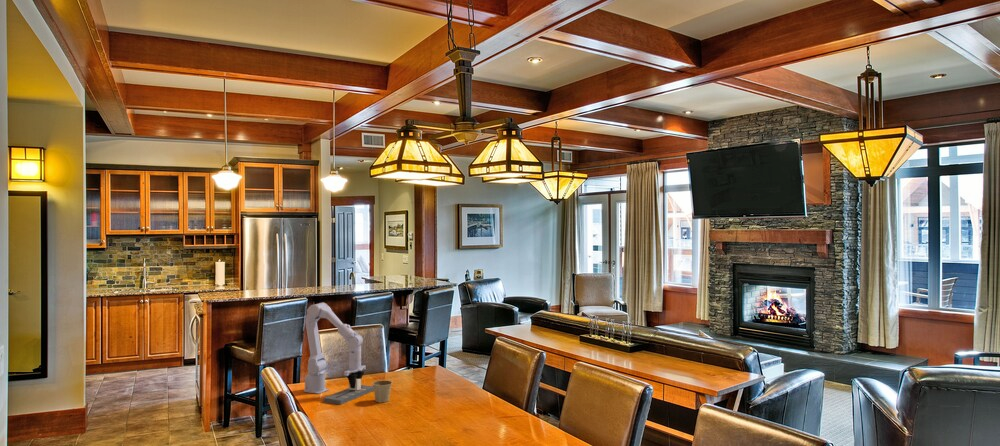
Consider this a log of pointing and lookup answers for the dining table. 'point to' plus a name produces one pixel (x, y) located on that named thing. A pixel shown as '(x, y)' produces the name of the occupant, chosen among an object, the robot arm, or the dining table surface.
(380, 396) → the flower pot
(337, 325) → the robot arm
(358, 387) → the fader
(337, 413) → the dining table surface
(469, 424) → the dining table surface
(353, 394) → the console
